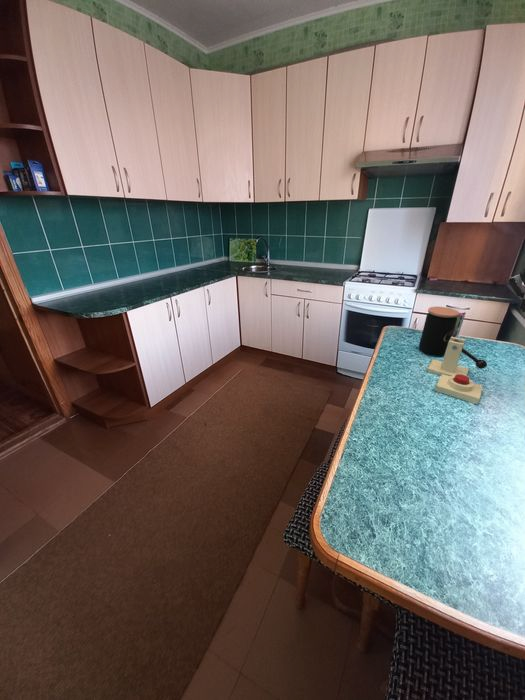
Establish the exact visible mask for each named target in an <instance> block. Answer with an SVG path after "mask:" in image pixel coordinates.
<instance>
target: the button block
mask: <svg viewBox="0 0 525 700" xmlns="http://www.w3.org/2000/svg"><path fill="white" fill-rule="evenodd" d="M454 378H455V375H453V376H447V375H443V374H442V375H440V377H439V379H438V381H437V383H436V385H435V388H434V391H435V392H437V393H441V394H442V395H443V394H444V395H447V396H450V397H453V398H456V399H459V400H463V401H466V402H468V403H472V404H475V405H479V402H480V400H481V396H482V391H483V387H484V386H483V384H482V385H481V384H478V383H474V381H473V380H472V379H470V380H469V383H468V385H461V384H458V383H456V382H454Z"/></svg>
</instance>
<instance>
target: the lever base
mask: <svg viewBox="0 0 525 700" xmlns="http://www.w3.org/2000/svg"><path fill="white" fill-rule="evenodd" d="M455 339H456V340H457V341H459V342H460V343H459V342H454V340H455ZM465 343H466V339H464V338H459V337H458V338H455V337H451V339H450V340H449V342H448V346H447V349H446V352H445V355H443V359H442V361H441V360H438V359H432V360H431V362H430V363H429V365H428V367H427V369H426V372H428V373H431V374H434V375H438V376H441V375H442V374H443V375H447V376H453V375H457V374H462V375H465V376H467V377H468V374H469V370H470V368H468V367H465V366H461V365H458V364H459V361H460V359H461V354H462V352H461V351H462V348H464V346H465Z"/></svg>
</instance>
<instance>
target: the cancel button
mask: <svg viewBox="0 0 525 700" xmlns="http://www.w3.org/2000/svg"><path fill="white" fill-rule="evenodd" d="M469 380H471V379H470V377H469V376H468V375H467V376H465V375H462V374H457V375H455V378H454V382H456V383H458V384H461V385H468V383H469Z"/></svg>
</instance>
